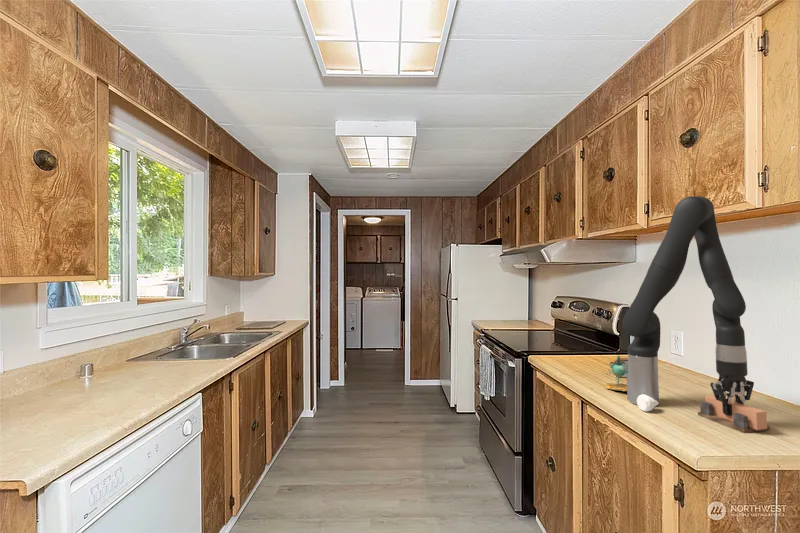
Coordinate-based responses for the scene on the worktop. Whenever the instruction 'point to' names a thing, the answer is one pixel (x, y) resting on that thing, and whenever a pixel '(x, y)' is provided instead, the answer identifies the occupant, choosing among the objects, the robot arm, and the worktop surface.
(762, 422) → the terracotta clay brick
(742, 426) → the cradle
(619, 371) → the frog figurine
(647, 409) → the garlic bulb
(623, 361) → the tin
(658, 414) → the worktop surface
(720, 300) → the robot arm
